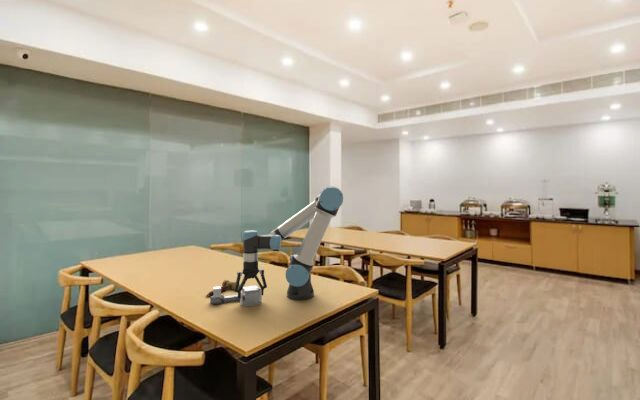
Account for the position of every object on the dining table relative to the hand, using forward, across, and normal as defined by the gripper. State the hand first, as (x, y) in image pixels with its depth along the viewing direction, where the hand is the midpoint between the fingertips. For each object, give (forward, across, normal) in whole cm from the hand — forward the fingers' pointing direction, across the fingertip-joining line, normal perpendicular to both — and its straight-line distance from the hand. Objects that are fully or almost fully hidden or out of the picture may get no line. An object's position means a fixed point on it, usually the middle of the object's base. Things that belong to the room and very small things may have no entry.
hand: (250, 302), depth 168 cm
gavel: (+1, +12, -24) cm, 27 cm away
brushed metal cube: (0, 0, 0) cm, 0 cm away
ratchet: (0, +8, -8) cm, 11 cm away
